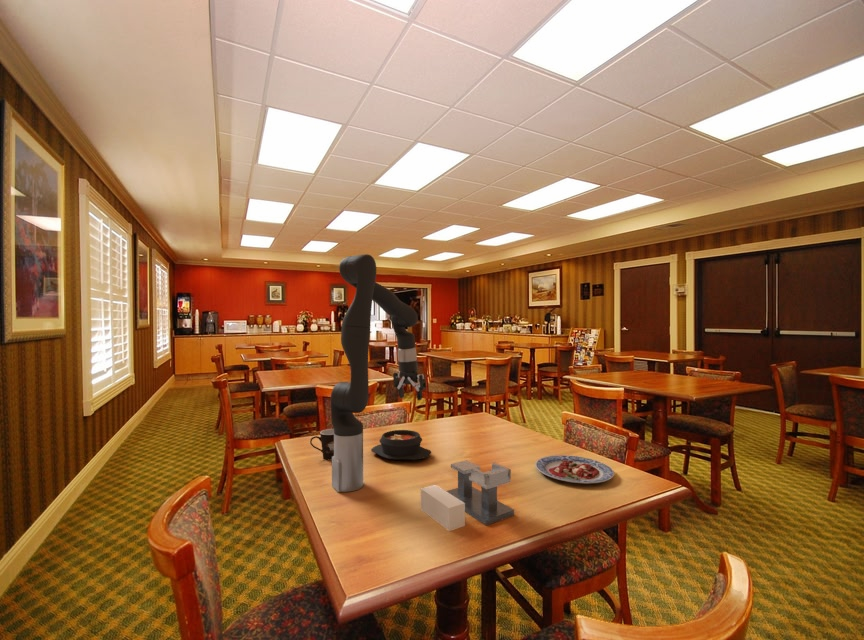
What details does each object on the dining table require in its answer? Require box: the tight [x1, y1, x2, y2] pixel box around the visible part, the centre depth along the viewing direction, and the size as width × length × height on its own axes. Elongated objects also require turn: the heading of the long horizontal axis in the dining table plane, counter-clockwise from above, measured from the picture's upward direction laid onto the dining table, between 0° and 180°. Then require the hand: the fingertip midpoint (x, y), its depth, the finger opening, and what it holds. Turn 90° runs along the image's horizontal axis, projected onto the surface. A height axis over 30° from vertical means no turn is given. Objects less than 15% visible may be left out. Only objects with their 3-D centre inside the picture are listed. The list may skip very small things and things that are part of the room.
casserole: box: [370, 429, 432, 461], centre depth 156 cm, size 25×19×8 cm
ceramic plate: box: [535, 454, 615, 484], centre depth 137 cm, size 26×26×3 cm
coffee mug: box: [309, 428, 334, 461], centre depth 154 cm, size 12×9×10 cm
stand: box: [445, 460, 515, 526], centre depth 113 cm, size 10×20×12 cm, turn 32°
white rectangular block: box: [420, 484, 466, 532], centre depth 106 cm, size 5×14×6 cm, turn 32°
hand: (410, 398), depth 158 cm, fingers open, 8 cm apart
